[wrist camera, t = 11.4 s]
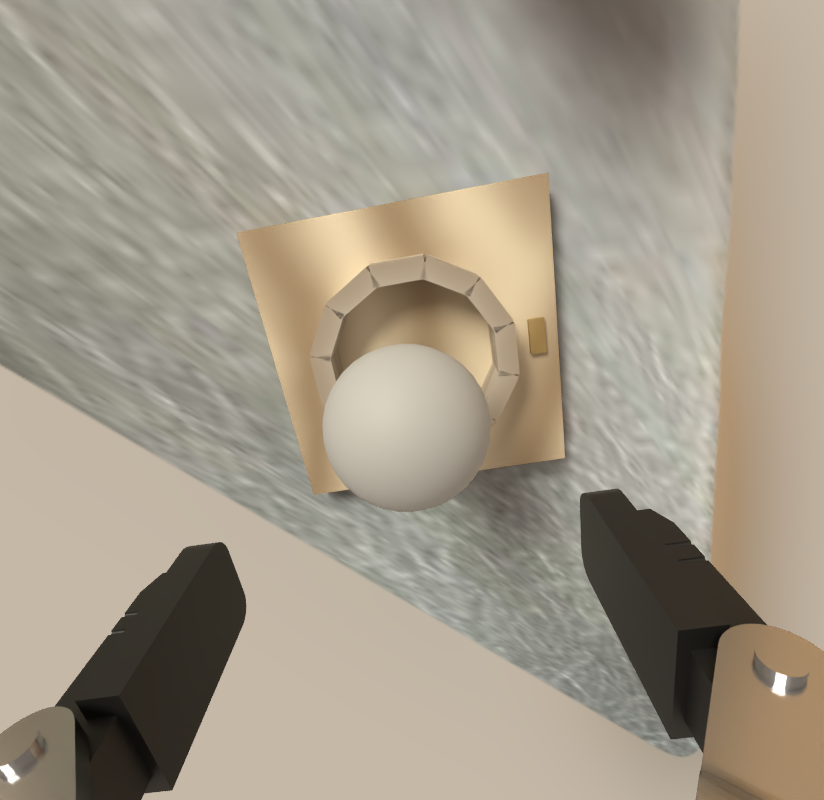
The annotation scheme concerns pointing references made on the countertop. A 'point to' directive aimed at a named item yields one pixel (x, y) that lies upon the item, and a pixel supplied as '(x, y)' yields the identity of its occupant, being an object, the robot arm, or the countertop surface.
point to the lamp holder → (419, 307)
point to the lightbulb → (406, 427)
